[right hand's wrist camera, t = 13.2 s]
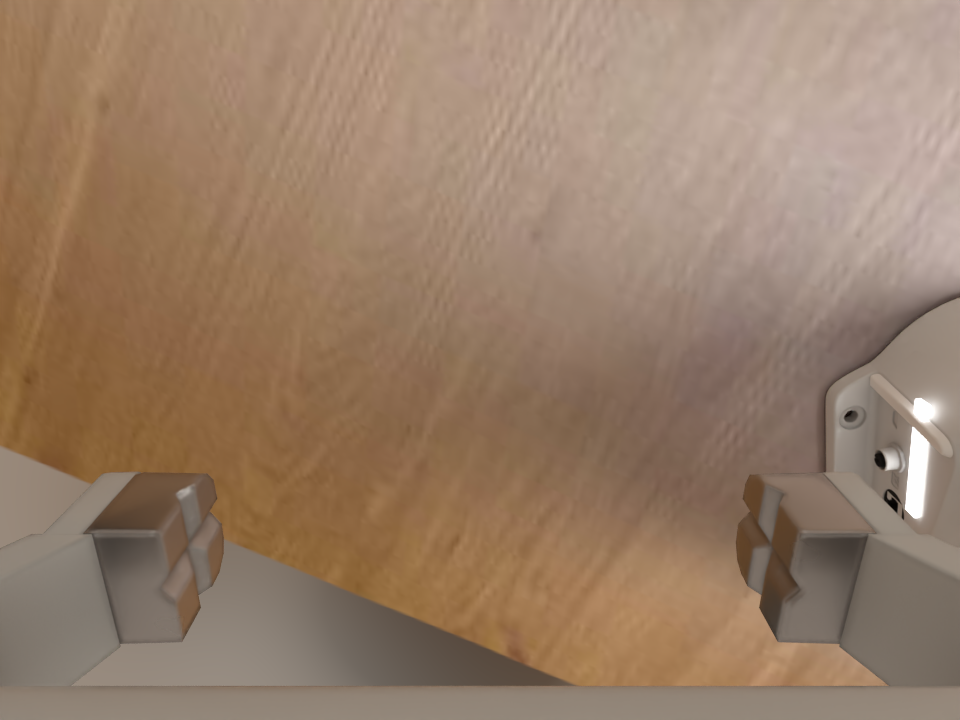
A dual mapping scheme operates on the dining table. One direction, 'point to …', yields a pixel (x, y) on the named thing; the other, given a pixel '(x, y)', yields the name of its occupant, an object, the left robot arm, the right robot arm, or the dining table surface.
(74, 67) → the dining table surface
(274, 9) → the dining table surface
